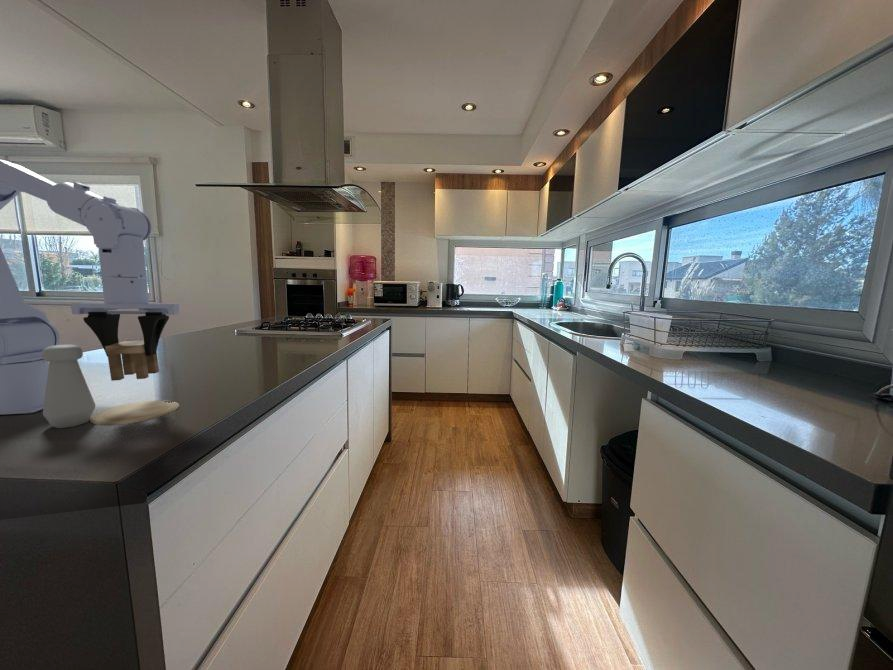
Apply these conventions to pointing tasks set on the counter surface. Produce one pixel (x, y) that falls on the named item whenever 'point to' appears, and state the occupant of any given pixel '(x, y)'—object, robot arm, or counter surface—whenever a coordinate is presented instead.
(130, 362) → the stool
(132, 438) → the counter surface
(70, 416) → the salt shaker
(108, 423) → the trivet
